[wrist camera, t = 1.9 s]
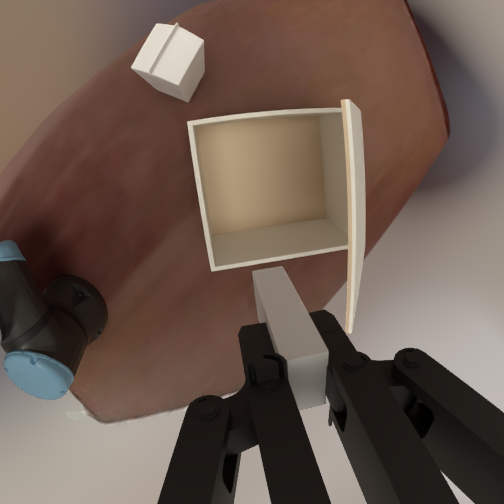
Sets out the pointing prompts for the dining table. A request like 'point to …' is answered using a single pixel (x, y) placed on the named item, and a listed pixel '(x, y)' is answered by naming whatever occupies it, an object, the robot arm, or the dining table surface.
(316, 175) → the carton
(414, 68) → the dining table surface
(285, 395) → the robot arm
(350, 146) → the flap
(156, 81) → the milk
